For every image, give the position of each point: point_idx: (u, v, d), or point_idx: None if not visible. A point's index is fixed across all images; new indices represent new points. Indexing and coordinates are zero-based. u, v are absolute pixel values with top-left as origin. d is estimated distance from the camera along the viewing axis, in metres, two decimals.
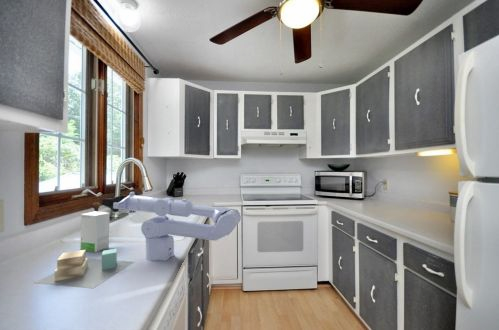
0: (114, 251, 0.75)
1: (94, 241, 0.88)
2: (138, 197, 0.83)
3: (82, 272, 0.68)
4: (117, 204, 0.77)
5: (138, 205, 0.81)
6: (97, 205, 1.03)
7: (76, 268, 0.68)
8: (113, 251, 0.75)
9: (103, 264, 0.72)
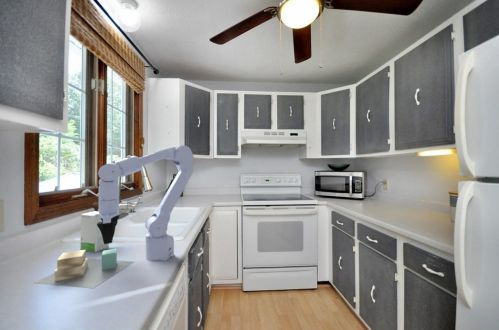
0: (114, 251, 0.75)
1: (94, 241, 0.88)
2: (99, 203, 0.72)
3: (82, 272, 0.68)
4: (104, 218, 0.68)
5: (109, 199, 0.72)
6: (97, 205, 1.03)
7: (76, 268, 0.68)
8: (113, 251, 0.75)
9: (103, 264, 0.72)
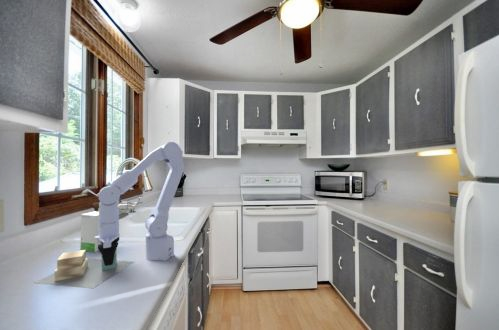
0: None
1: (94, 241, 0.88)
2: (99, 227, 0.72)
3: (82, 272, 0.68)
4: (105, 242, 0.68)
5: (109, 222, 0.72)
6: (97, 205, 1.03)
7: (76, 268, 0.68)
8: None
9: (103, 264, 0.72)
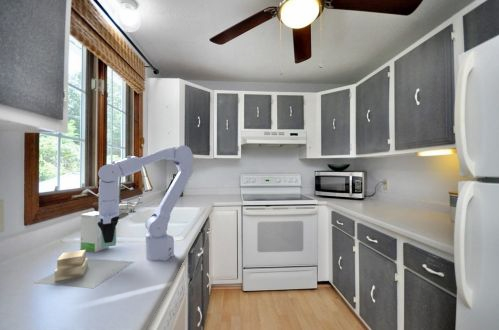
0: None
1: (94, 241, 0.88)
2: (99, 204, 0.72)
3: (82, 272, 0.68)
4: (104, 218, 0.68)
5: (109, 200, 0.72)
6: (97, 205, 1.03)
7: (76, 268, 0.68)
8: None
9: (103, 242, 0.72)
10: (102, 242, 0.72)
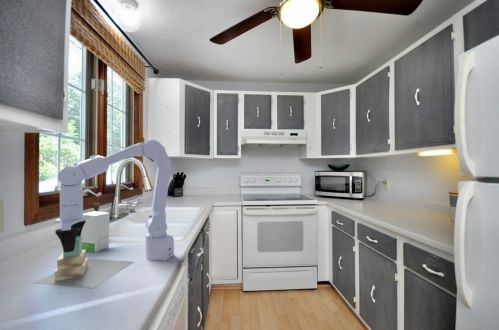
0: (78, 238, 0.70)
1: (94, 241, 0.88)
2: (60, 209, 0.68)
3: (82, 272, 0.68)
4: (63, 225, 0.63)
5: (70, 205, 0.68)
6: (97, 205, 1.03)
7: (76, 268, 0.68)
8: (77, 238, 0.70)
9: None
10: (64, 252, 0.68)
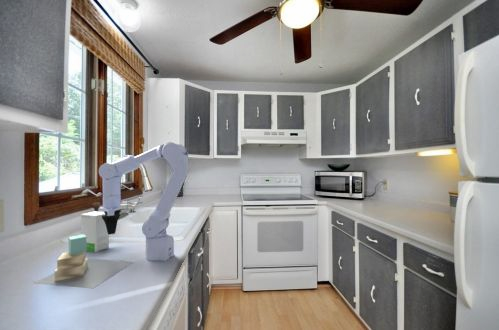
0: (83, 236, 0.73)
1: (94, 241, 0.88)
2: (103, 198, 0.81)
3: (82, 272, 0.68)
4: (108, 211, 0.77)
5: (107, 195, 0.81)
6: (97, 205, 1.03)
7: (76, 268, 0.68)
8: (82, 236, 0.72)
9: (72, 249, 0.69)
10: (72, 250, 0.69)
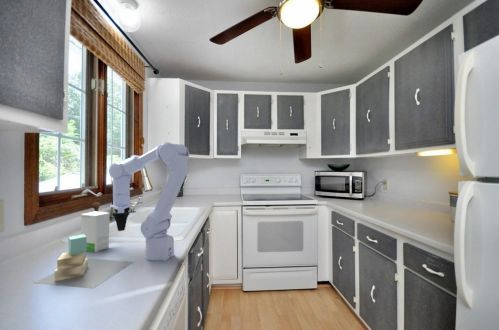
0: (83, 236, 0.73)
1: (94, 241, 0.88)
2: (113, 197, 0.85)
3: (82, 272, 0.68)
4: (119, 208, 0.81)
5: (115, 193, 0.85)
6: (97, 205, 1.03)
7: (76, 268, 0.68)
8: (82, 236, 0.72)
9: (72, 249, 0.69)
10: (72, 250, 0.69)
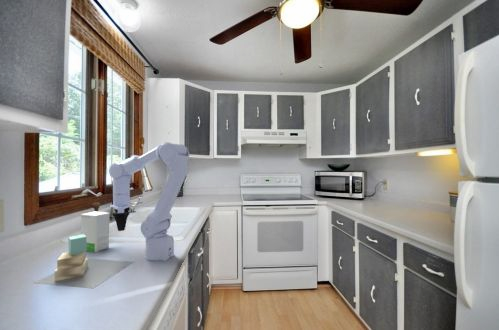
0: (83, 236, 0.73)
1: (94, 241, 0.88)
2: (113, 197, 0.85)
3: (82, 272, 0.68)
4: (119, 208, 0.81)
5: (115, 193, 0.85)
6: (97, 205, 1.03)
7: (76, 268, 0.68)
8: (82, 236, 0.72)
9: (72, 249, 0.69)
10: (72, 250, 0.69)
